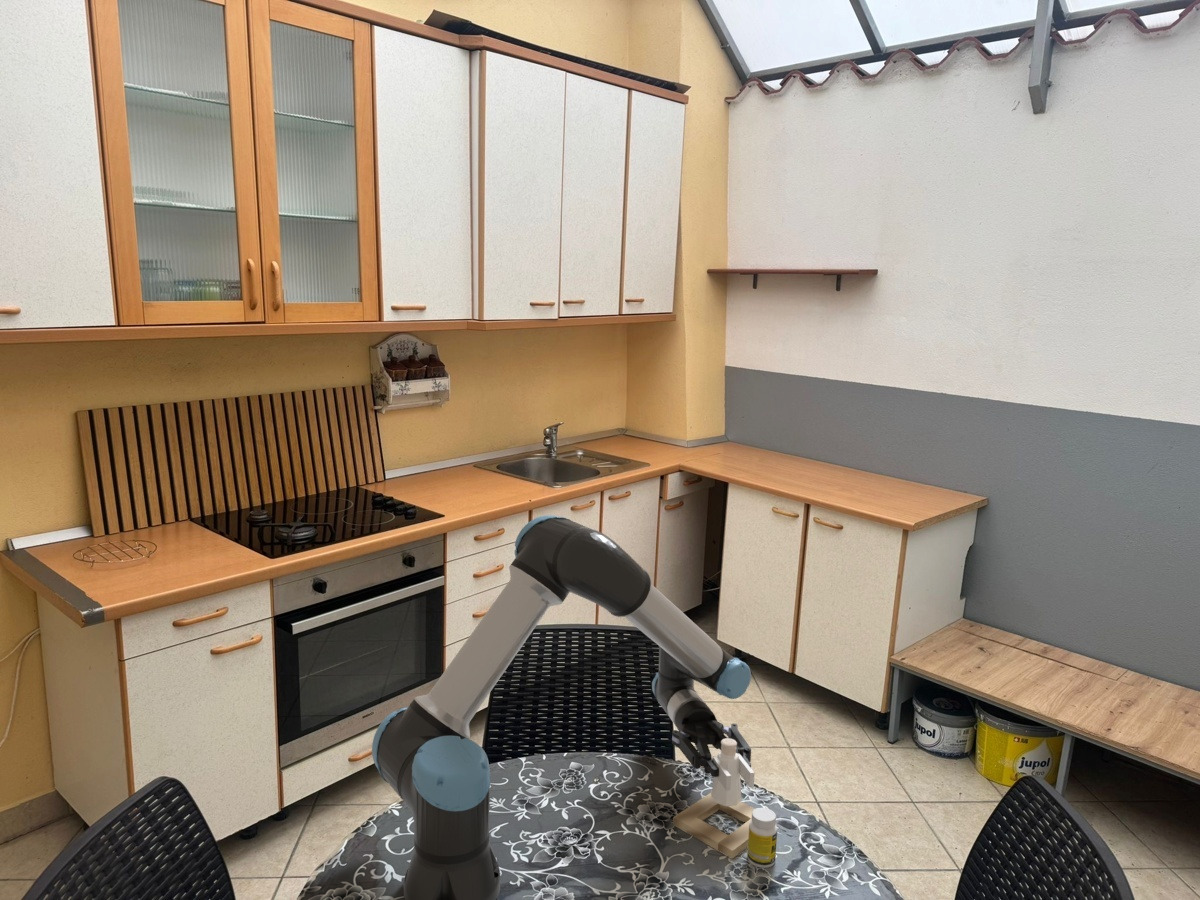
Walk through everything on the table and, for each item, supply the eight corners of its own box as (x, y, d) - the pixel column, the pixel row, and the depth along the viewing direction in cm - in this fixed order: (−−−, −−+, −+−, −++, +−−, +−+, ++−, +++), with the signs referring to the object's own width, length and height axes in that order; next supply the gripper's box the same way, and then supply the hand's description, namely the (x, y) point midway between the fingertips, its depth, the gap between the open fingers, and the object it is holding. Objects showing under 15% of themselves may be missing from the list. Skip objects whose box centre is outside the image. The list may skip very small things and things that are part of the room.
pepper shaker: (741, 808, 146) (744, 750, 144) (710, 805, 147) (713, 747, 145) (741, 791, 151) (744, 735, 149) (711, 787, 152) (713, 732, 150)
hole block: (672, 824, 149) (673, 817, 149) (716, 796, 159) (716, 788, 158) (732, 858, 141) (732, 850, 140) (774, 826, 150) (774, 818, 149)
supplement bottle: (775, 870, 138) (778, 824, 136) (746, 866, 139) (749, 820, 137) (775, 852, 142) (778, 808, 141) (747, 848, 143) (750, 804, 142)
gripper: (730, 729, 168) (783, 795, 145) (651, 738, 163) (694, 808, 141) (731, 694, 166) (786, 755, 144) (652, 703, 162) (695, 767, 140)
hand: (740, 781), depth 143 cm, fingers closed on pepper shaker, 4 cm apart
